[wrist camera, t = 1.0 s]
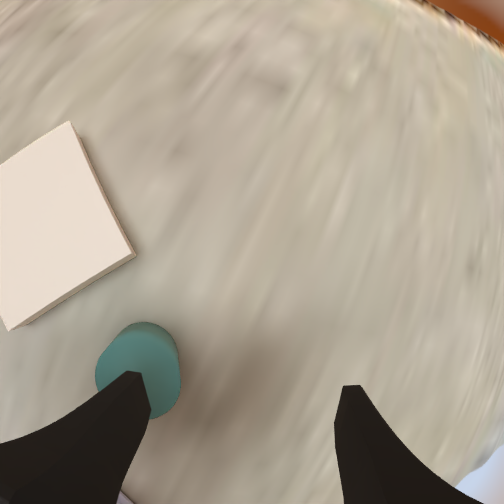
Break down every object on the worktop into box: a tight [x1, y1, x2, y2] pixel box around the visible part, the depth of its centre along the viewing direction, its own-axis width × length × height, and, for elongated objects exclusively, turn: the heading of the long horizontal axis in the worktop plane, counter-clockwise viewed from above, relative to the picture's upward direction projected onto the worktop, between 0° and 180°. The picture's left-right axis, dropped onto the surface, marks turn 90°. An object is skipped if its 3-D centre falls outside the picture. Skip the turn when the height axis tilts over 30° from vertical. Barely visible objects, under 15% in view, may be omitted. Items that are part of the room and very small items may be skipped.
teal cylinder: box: [95, 322, 181, 419], centre depth 18 cm, size 4×4×6 cm
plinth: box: [0, 120, 137, 331], centre depth 18 cm, size 10×10×3 cm
